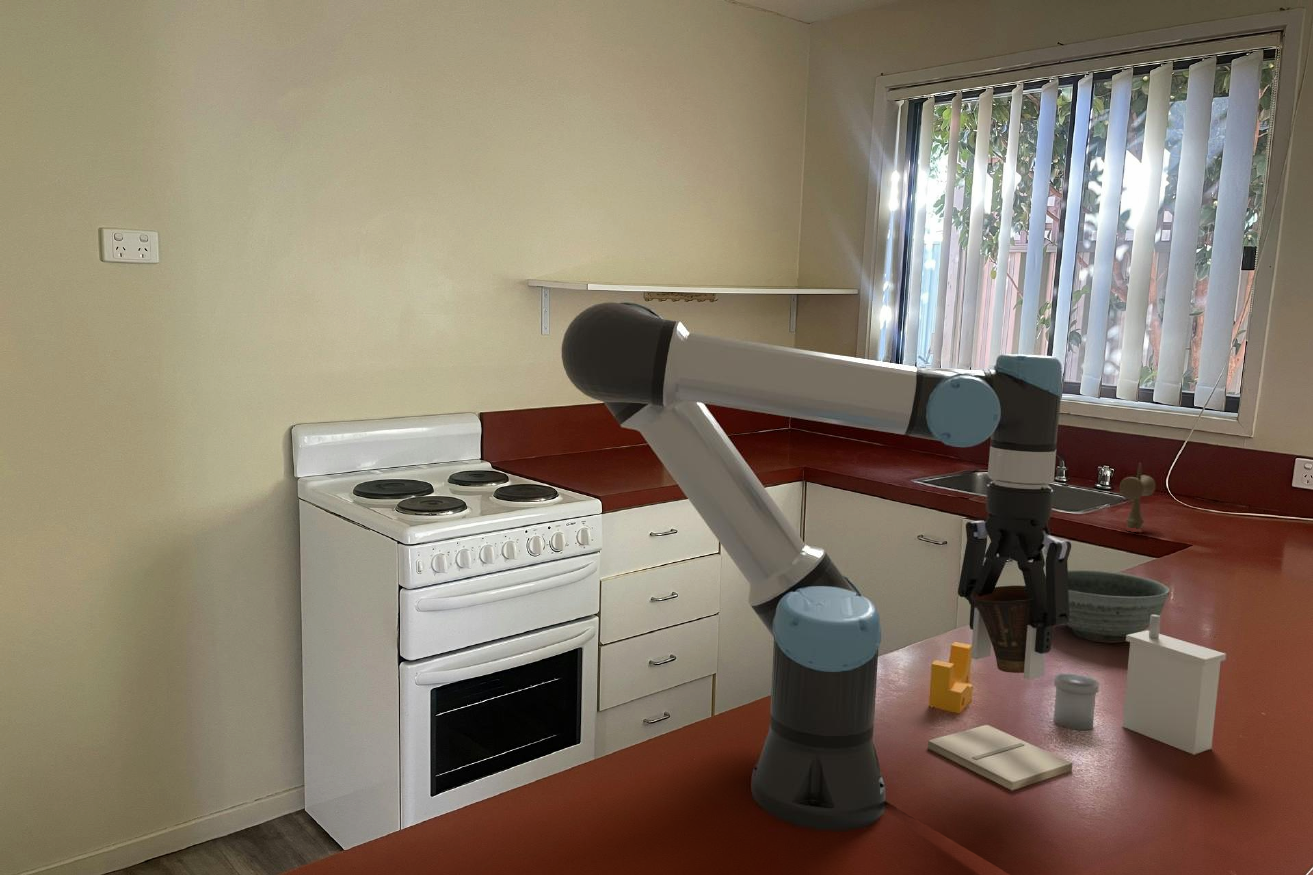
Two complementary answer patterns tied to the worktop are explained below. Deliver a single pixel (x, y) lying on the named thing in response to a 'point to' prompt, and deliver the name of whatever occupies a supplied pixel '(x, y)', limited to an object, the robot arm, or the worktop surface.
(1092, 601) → the bowl
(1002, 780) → the board
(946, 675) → the yellow shaft support bracket
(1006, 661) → the cup
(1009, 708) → the worktop surface
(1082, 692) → the grey knob
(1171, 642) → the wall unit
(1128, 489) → the kendama
